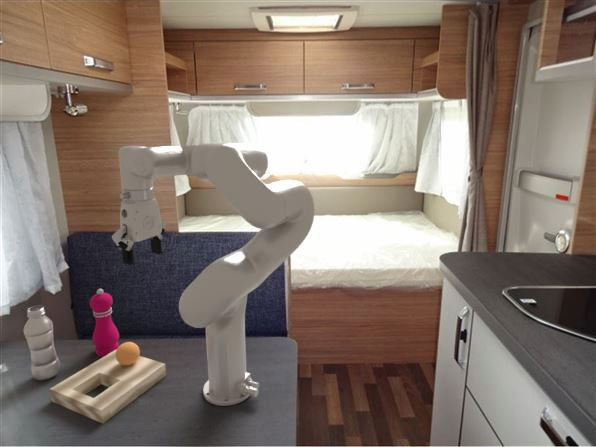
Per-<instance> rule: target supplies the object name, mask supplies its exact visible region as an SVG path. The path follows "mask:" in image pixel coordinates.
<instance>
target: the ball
mask: <svg viewBox="0 0 596 447" xmlns="http://www.w3.org/2000/svg"><path fill="white" fill-rule="evenodd" d="M140 353H141V350H140V347H139V346H138V345H137V344H136V343H135V342H133V341H125V342H123V343H121V344H120V345H119V347H118V349H117V351H116V360H117V361H118V362H119V363H120V364H122V365H131V364H133V363H135V362H136V361H137V359H138V358H139V356H141V355H140Z"/></svg>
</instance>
